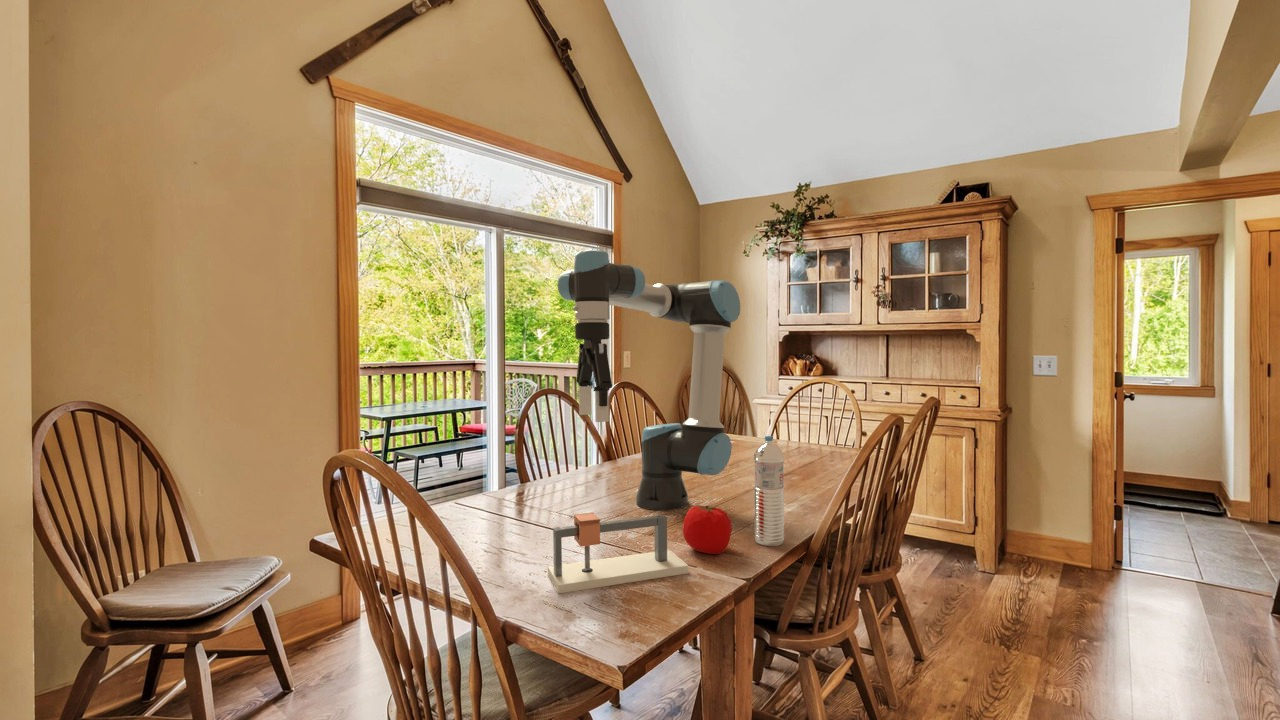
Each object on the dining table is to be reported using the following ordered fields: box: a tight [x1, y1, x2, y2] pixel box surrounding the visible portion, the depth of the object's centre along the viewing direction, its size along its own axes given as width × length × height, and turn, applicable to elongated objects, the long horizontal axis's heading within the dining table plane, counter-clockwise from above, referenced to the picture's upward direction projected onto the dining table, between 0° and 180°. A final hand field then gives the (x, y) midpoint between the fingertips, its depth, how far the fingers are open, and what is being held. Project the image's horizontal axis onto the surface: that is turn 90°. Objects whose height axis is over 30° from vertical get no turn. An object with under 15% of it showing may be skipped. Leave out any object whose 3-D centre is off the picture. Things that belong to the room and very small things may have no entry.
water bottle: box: [753, 435, 785, 547], centre depth 141 cm, size 7×7×25 cm
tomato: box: [682, 505, 733, 555], centre depth 136 cm, size 11×13×10 cm
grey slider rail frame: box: [552, 514, 668, 577], centre depth 122 cm, size 24×2×9 cm, turn 110°
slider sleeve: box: [573, 512, 601, 568], centre depth 121 cm, size 4×5×10 cm
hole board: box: [547, 549, 689, 594], centre depth 123 cm, size 27×10×2 cm, turn 110°
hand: (593, 418), depth 133 cm, fingers open, 13 cm apart
